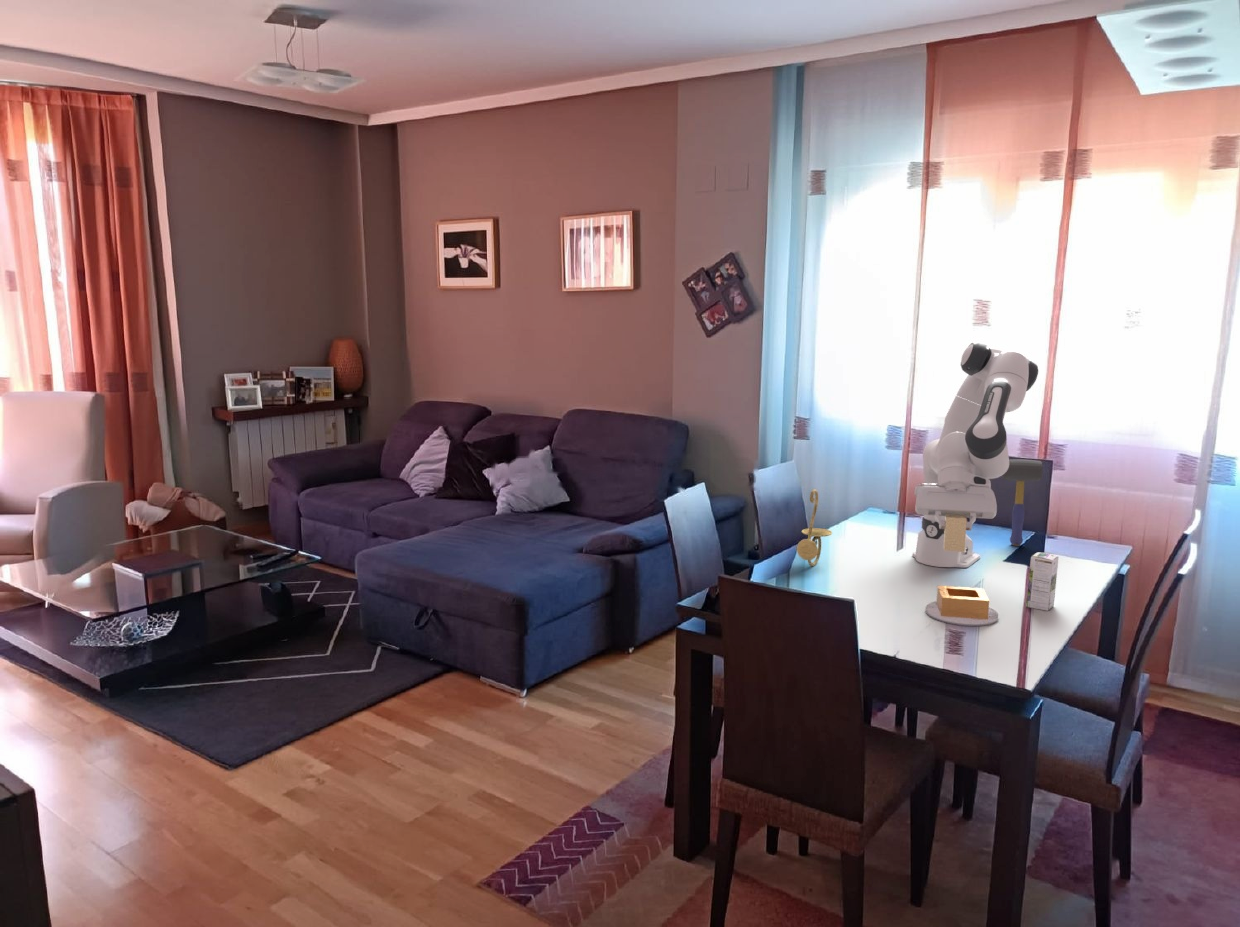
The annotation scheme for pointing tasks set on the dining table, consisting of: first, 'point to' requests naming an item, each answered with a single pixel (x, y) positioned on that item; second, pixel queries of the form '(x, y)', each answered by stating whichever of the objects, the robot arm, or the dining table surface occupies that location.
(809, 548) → the wall sconce
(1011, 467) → the rubber mallet
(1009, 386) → the robot arm
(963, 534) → the wedge
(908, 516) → the dining table surface
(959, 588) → the socket
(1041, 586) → the syrup box
